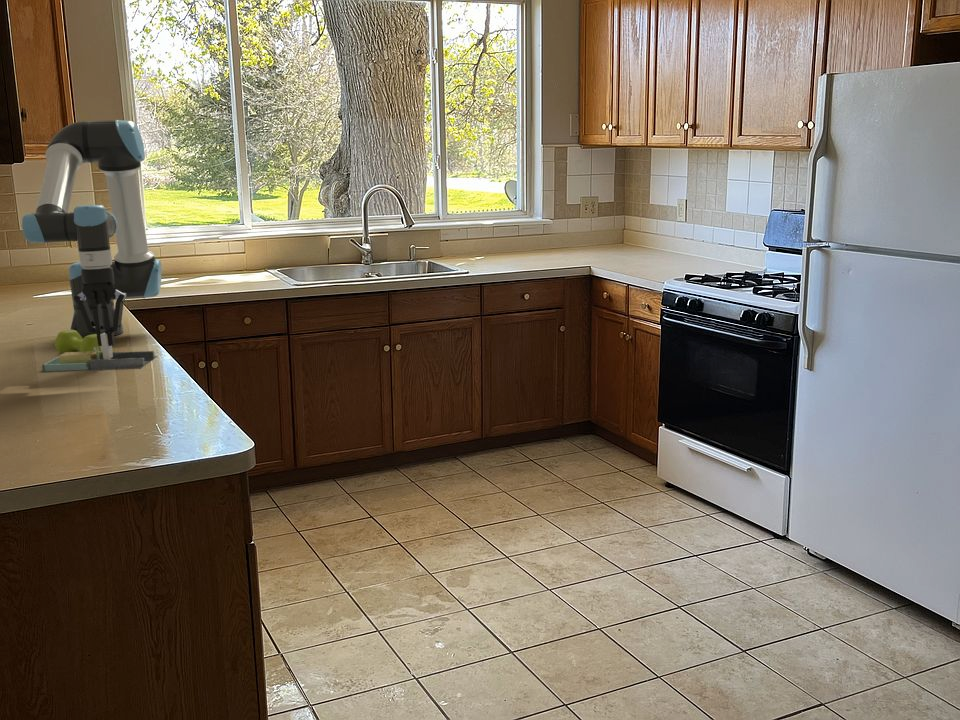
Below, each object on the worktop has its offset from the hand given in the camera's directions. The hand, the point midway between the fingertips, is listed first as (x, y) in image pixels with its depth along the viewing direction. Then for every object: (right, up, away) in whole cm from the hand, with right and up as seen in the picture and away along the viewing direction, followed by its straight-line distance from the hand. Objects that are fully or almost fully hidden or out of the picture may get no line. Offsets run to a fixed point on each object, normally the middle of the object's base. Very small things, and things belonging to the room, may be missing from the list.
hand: (108, 357), depth 239 cm
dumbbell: (-13, 0, +16) cm, 21 cm away
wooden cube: (-6, -3, +1) cm, 6 cm away
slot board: (+3, -3, +1) cm, 5 cm away
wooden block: (-10, -3, +1) cm, 10 cm away
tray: (-9, -3, +1) cm, 10 cm away
